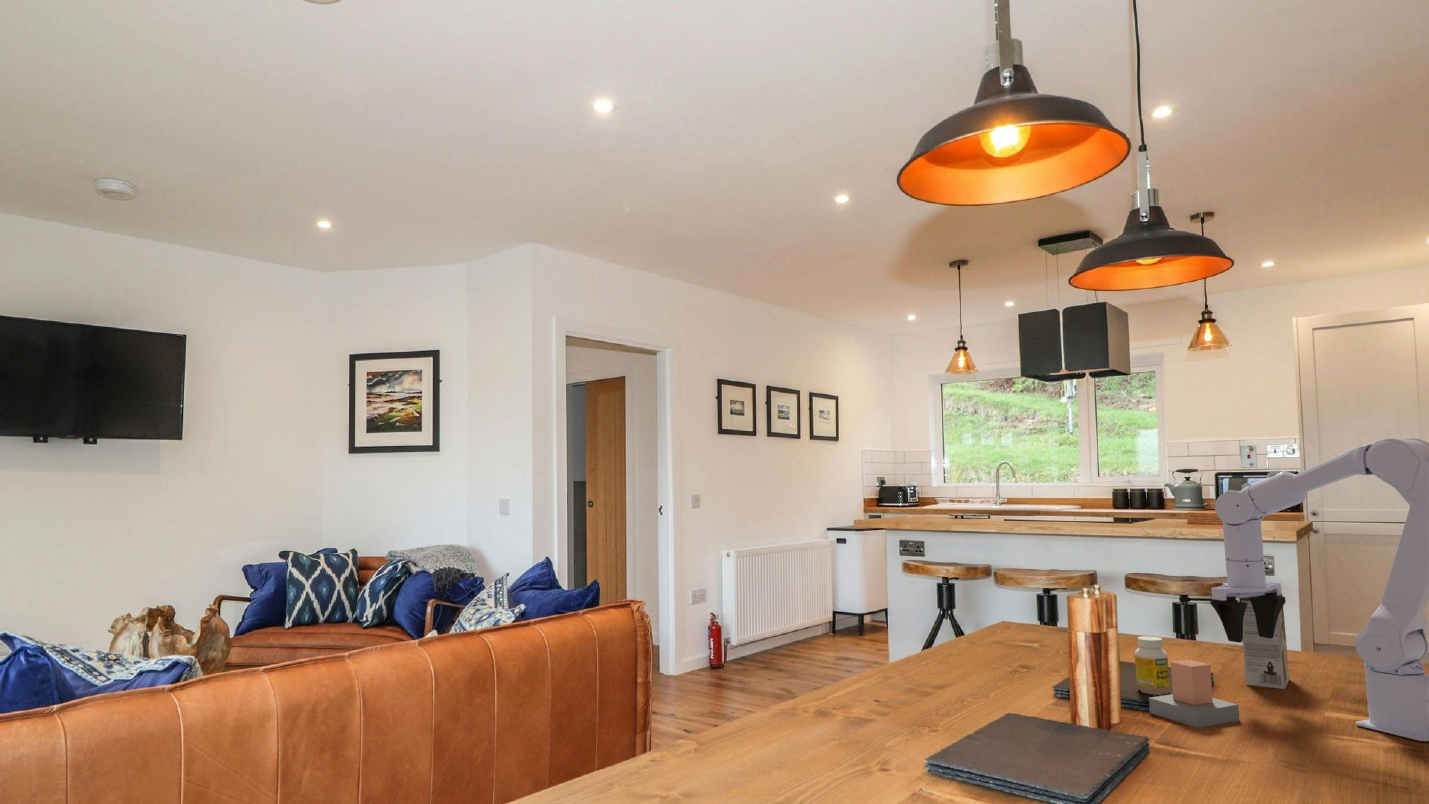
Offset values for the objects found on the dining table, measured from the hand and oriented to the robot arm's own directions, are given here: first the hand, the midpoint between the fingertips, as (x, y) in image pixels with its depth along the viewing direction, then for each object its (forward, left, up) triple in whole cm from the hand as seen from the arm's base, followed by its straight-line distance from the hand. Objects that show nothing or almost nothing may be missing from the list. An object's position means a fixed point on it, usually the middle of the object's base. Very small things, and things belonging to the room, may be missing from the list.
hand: (1250, 639), depth 146 cm
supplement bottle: (+12, +10, -11) cm, 19 cm away
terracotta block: (-2, +17, -8) cm, 19 cm away
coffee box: (+8, -14, -11) cm, 19 cm away
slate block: (-2, +17, -11) cm, 20 cm away
